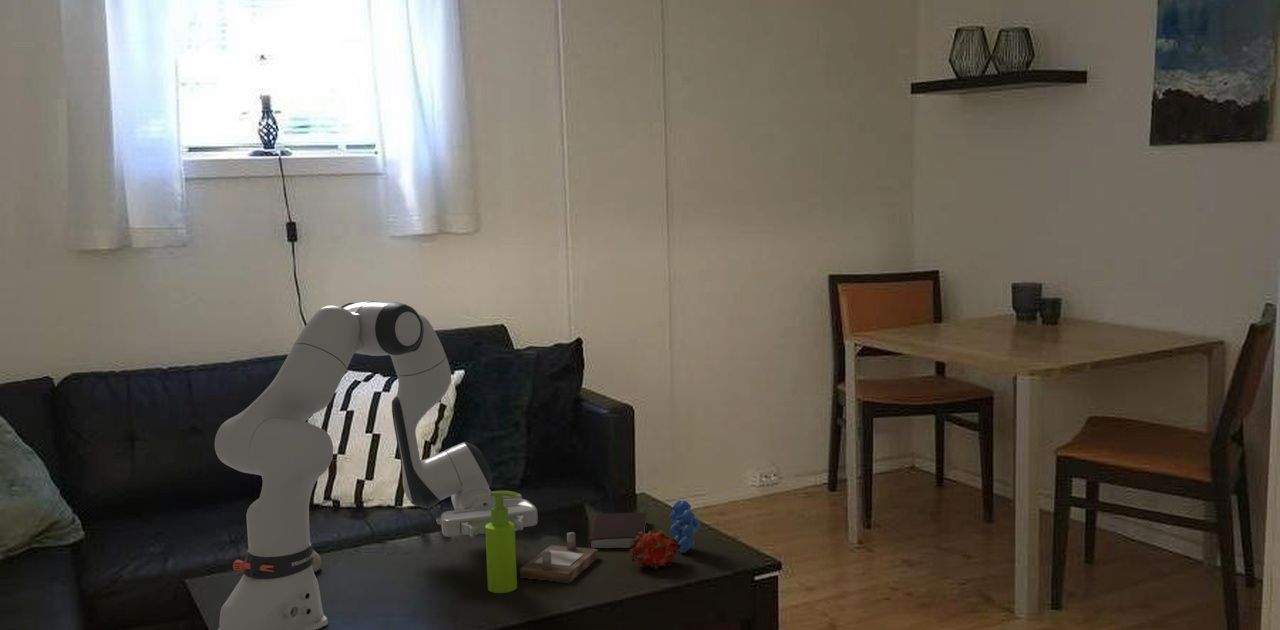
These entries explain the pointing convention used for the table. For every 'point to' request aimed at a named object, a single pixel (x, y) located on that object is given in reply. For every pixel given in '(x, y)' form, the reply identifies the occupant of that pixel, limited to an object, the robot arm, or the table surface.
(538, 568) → the pin seat
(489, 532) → the soap dispenser
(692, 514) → the grapes
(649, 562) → the dragon fruit
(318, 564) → the sea urchin shell
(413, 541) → the table surface
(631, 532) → the book
